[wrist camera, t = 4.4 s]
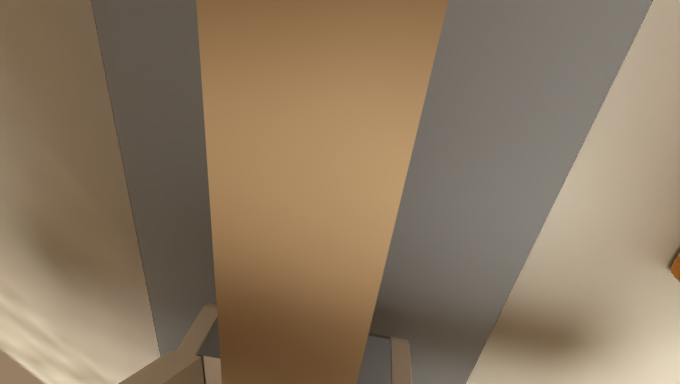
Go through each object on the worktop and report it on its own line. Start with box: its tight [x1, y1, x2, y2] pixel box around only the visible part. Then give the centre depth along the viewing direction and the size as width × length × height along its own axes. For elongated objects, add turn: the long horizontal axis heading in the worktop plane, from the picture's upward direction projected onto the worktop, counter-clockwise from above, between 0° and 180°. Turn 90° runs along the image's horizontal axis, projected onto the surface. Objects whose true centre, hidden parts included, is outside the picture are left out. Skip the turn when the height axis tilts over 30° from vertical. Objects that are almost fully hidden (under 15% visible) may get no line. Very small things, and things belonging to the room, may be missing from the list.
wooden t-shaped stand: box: [196, 0, 448, 384], centre depth 8 cm, size 16×9×4 cm, turn 173°
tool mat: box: [91, 0, 653, 384], centre depth 11 cm, size 20×11×1 cm, turn 173°
